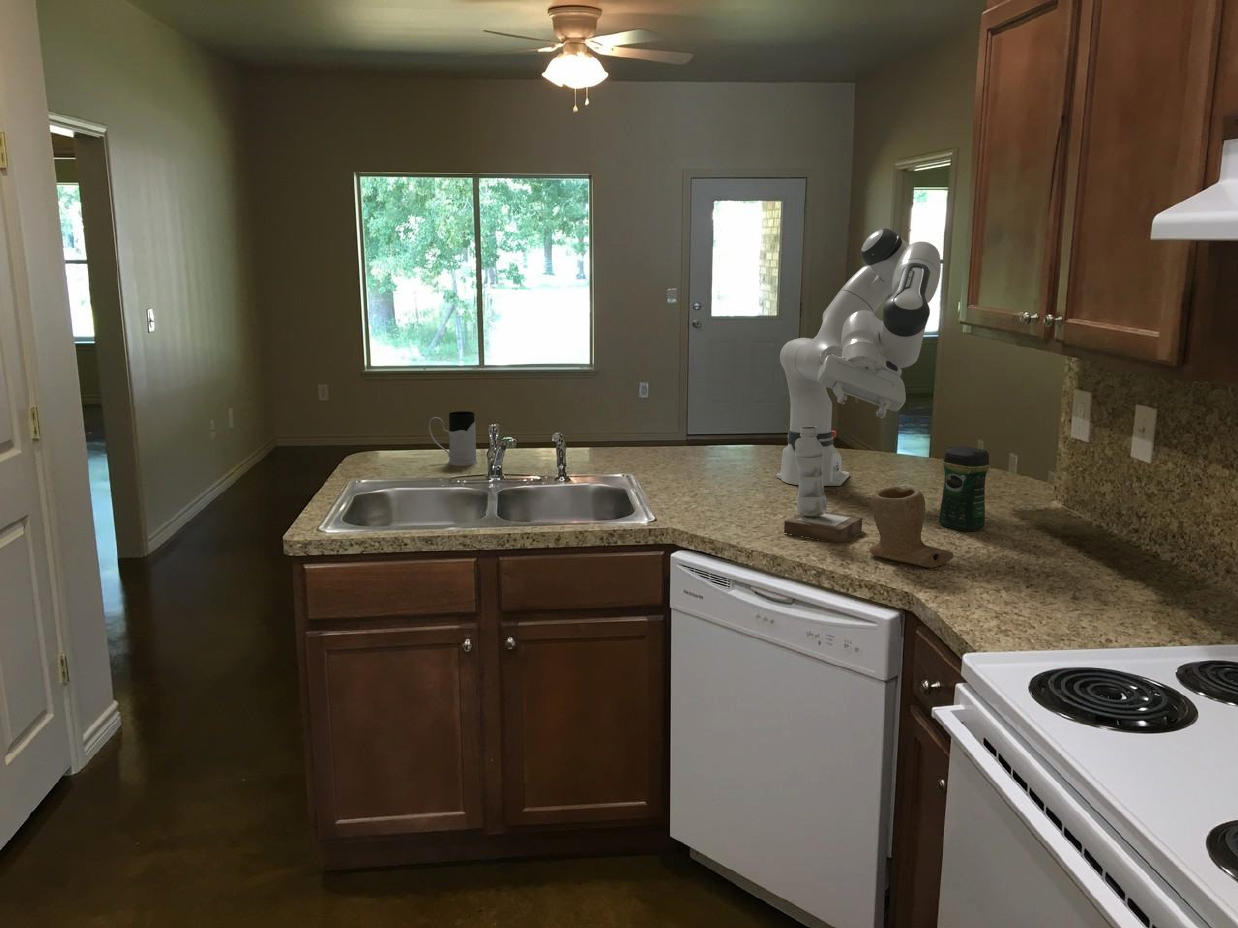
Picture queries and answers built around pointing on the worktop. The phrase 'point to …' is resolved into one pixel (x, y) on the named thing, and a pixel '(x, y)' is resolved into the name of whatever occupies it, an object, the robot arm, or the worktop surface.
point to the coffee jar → (964, 488)
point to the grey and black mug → (460, 438)
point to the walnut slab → (824, 526)
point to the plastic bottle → (810, 474)
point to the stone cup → (903, 528)
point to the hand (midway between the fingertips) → (861, 408)
